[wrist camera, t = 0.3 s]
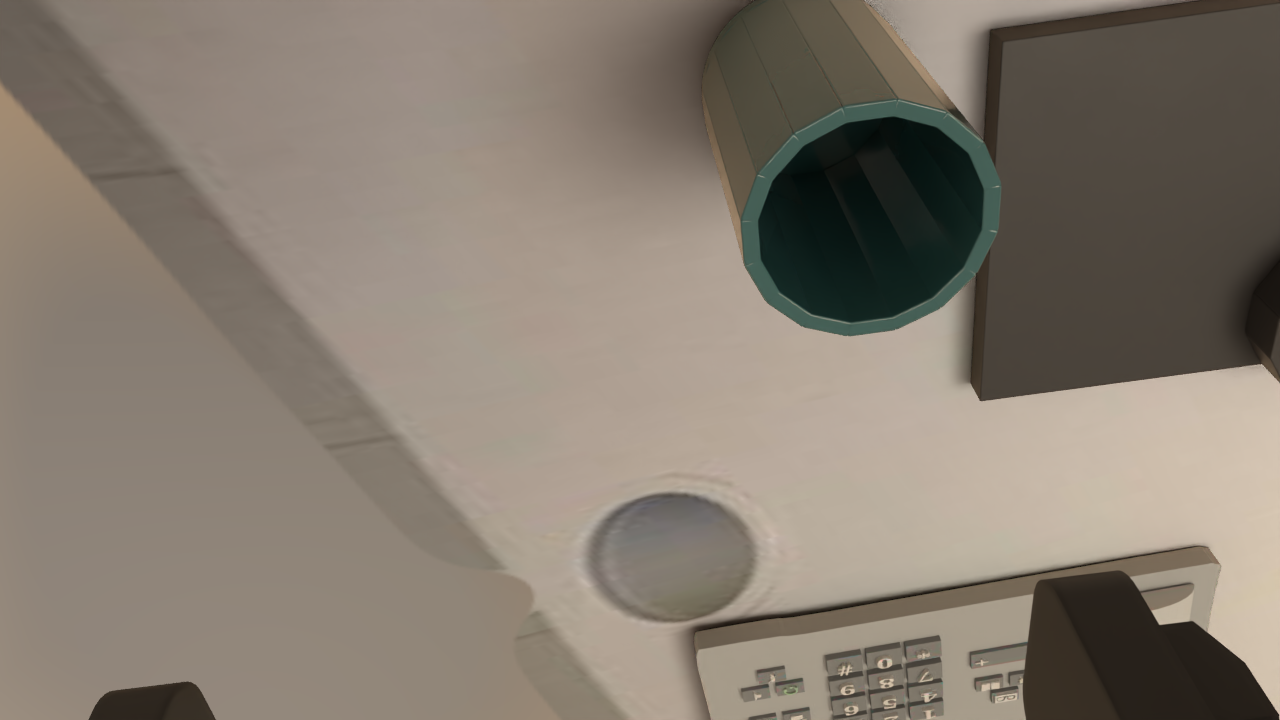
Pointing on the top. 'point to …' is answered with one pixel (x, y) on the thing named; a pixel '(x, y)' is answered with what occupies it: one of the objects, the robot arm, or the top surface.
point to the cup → (844, 167)
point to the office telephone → (918, 649)
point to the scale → (1132, 198)
